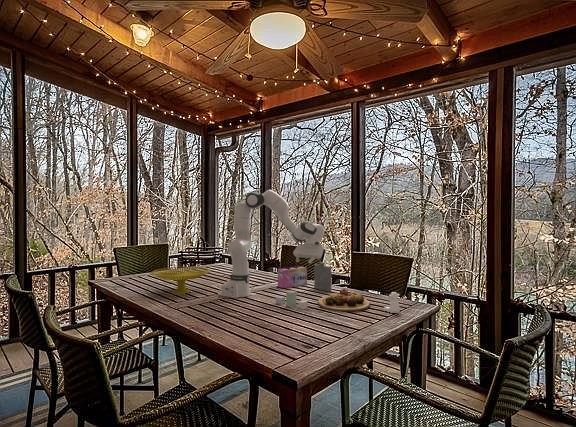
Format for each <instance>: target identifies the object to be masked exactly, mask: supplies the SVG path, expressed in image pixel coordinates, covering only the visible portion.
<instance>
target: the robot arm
mask: <svg viewBox="0 0 576 427" xmlns="http://www.w3.org/2000/svg"><path fill="white" fill-rule="evenodd" d="M263 205H264V206H266V207H267V208H269V209H270V211H272V212H273V213H274V214H275V215H276V216H277V219H278V220H279V221H280V223H281V224H282V225H283V226H284V227H285V228H286V229H287V231H289V232H290V234H291V235H292V237H293V239H294V240H295V241H296V242H299V243H303V242H305V243H304V244H299V245H297V247H296V248H295V249H294V250H293V252H292V254H293V256H294V257H295V258H296V259H295V262H296V263H299V262H300V258H306V259H308V260H307V262H308V264H311V263H313V261H315V260H317V259H318V260H320V259H321V258H322V256H323V253H324V251H325V248H324V246H323V244H322V243H321V242H322V240H323V238H324V235H325V231H326V230H325V228H324V226H323V225H322V224H318V223H312V222H310V221H309V220H303V221H302V222H301V223H300V224H299V225H297V224H296V223H295V222H294V221H293V220H292V219H291V218H290V216H289V204H288V202H287V201H286V199H284V197H282V196H281V195H280V194H278V193H277V192H276V191H274V190H272V189H268V190H267V189H266V191H264V192H263V193H260V192H258V191H253V192H252V191H251V192H248V194H247V195H246V196H245V200H243V201H241V200H240V201H239V202H237V203H236V205H235V208H234V214H233V231H234V235H235V238H234V239H232V240H231V242H229V244H228V250H229V251H228V252H230V257H231V261H232V262H231V263H232V264H231V265H232V268H231V269H232V273H231V274H230V275H228V277H229V280H227V281H226V282H225V283H224V284H222V287H221V290H220V291H219V292H218V293H217V295H218V296H222V297H228V298H232V299H233V298H235V299H236V298H245V297H249V296H251V295H252V292H251V289H250V273H249V270H250V268H249V265H250V264H249V261H248V256H247V254H248V252H249V251H250V250H251V249H252V247H253V243H252V238H251V229H250V228H251V213H252V210H254V209H259V208H261V207H262V206H263Z"/></svg>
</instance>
